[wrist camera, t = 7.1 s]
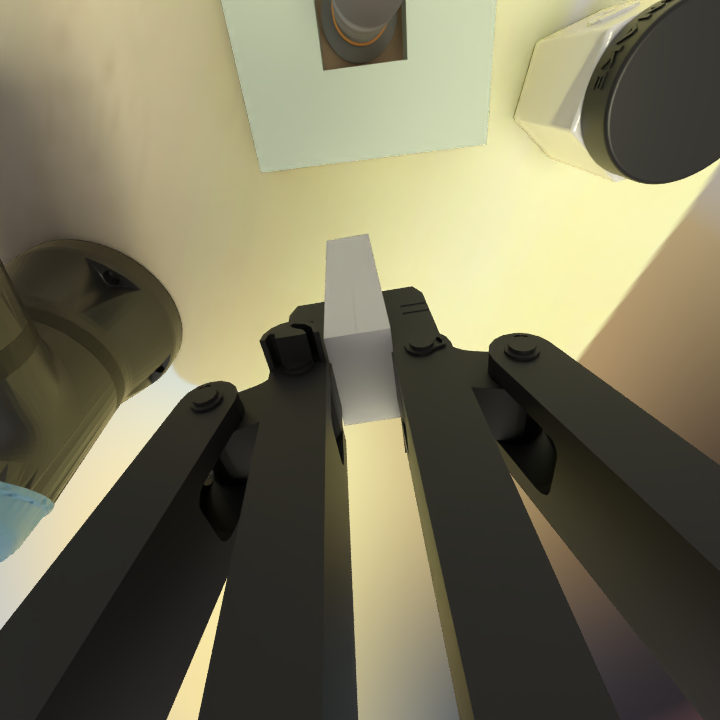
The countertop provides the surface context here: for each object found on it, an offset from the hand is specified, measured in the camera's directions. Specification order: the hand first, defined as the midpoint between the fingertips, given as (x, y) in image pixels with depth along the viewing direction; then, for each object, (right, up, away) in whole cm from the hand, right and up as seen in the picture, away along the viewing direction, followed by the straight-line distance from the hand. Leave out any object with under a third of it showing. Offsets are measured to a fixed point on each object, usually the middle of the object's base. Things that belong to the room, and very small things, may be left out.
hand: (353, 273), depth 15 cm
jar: (+16, +17, +14) cm, 27 cm away
